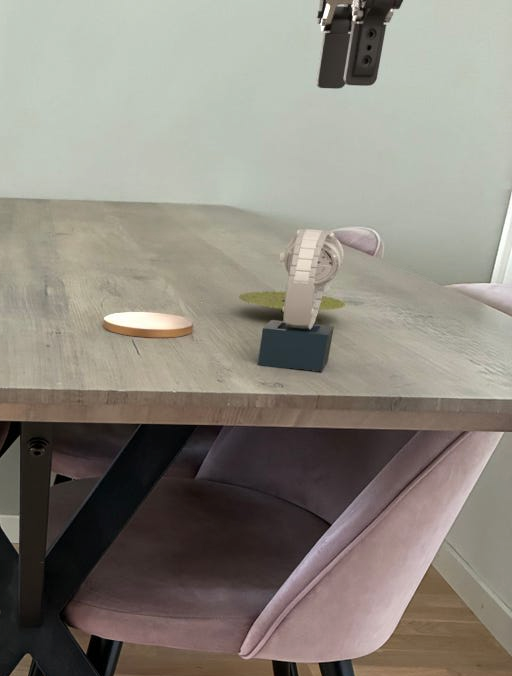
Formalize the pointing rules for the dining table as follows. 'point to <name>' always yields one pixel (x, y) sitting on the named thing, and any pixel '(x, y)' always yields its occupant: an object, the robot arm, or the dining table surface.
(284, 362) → the watch
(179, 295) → the dining table surface
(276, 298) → the olive green disc
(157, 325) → the coaster
